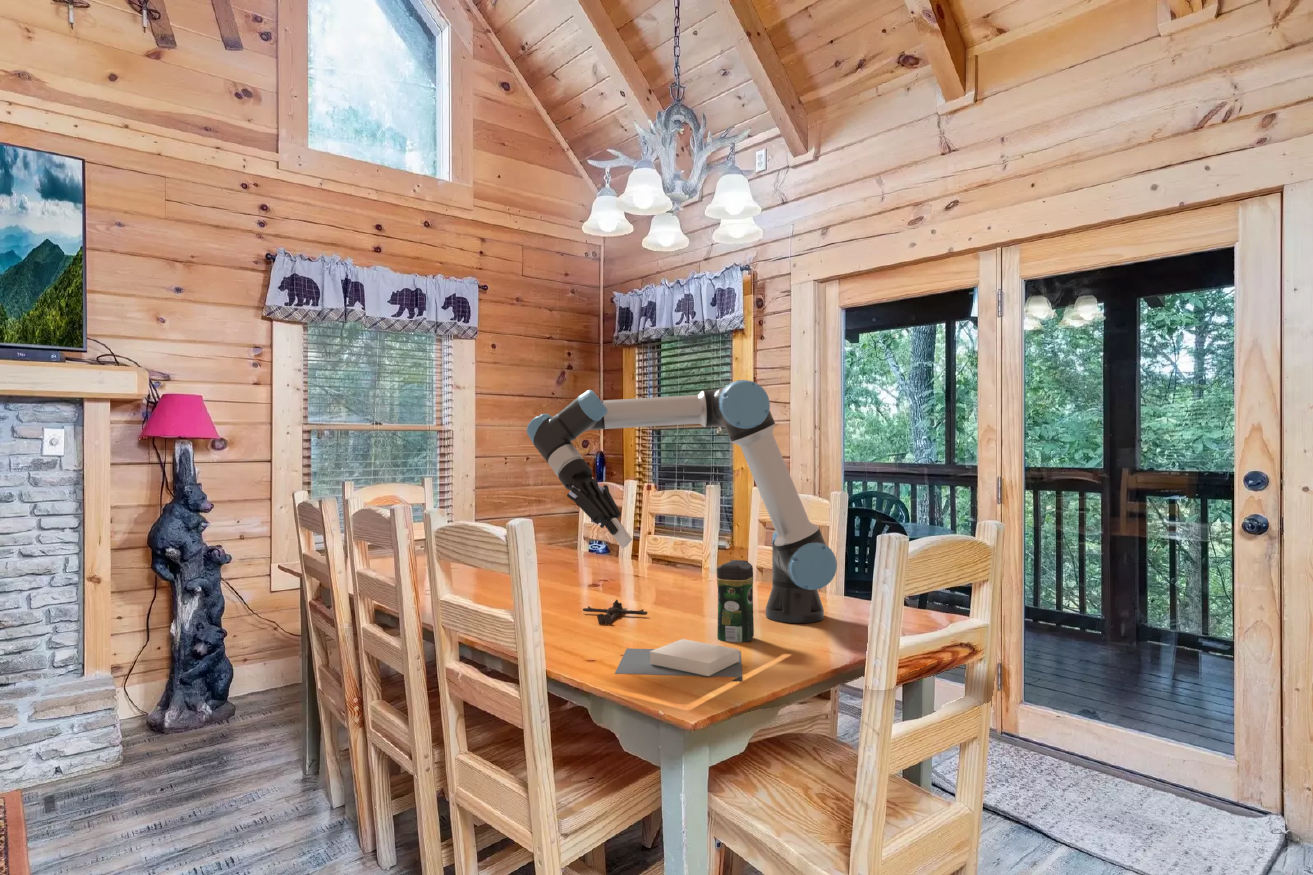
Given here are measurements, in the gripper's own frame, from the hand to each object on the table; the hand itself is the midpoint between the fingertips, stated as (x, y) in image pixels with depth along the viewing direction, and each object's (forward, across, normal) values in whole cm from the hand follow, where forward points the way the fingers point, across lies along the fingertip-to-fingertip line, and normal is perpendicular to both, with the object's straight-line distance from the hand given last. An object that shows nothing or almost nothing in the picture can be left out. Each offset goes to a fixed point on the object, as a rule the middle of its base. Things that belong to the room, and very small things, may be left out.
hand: (627, 543), depth 168 cm
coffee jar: (+29, -20, -5) cm, 35 cm away
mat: (+29, +4, -5) cm, 29 cm away
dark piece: (+2, -21, -32) cm, 39 cm away
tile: (+24, +4, -6) cm, 25 cm away
